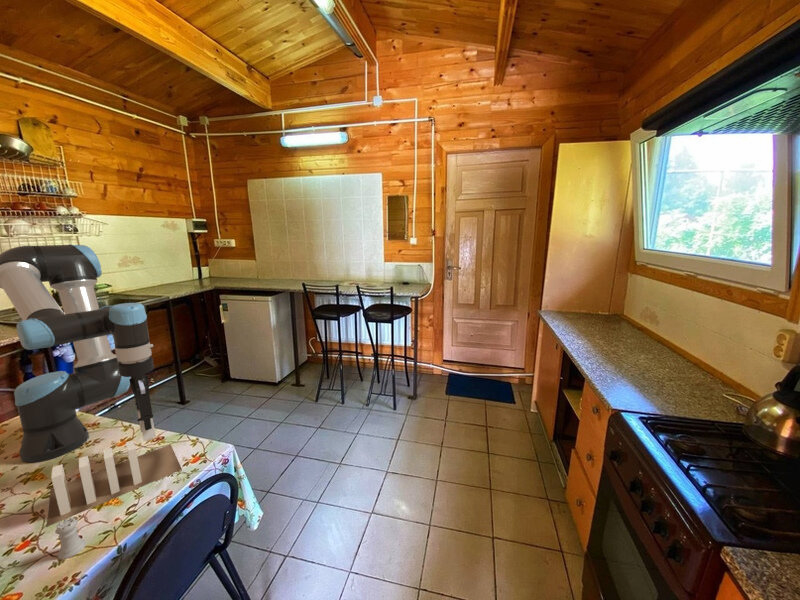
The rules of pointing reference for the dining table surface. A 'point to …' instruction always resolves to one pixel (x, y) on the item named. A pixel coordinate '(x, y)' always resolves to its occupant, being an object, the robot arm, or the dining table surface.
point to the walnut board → (150, 469)
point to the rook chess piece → (69, 539)
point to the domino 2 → (87, 480)
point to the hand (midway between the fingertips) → (148, 433)
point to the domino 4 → (133, 462)
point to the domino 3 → (111, 470)
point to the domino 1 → (61, 489)
